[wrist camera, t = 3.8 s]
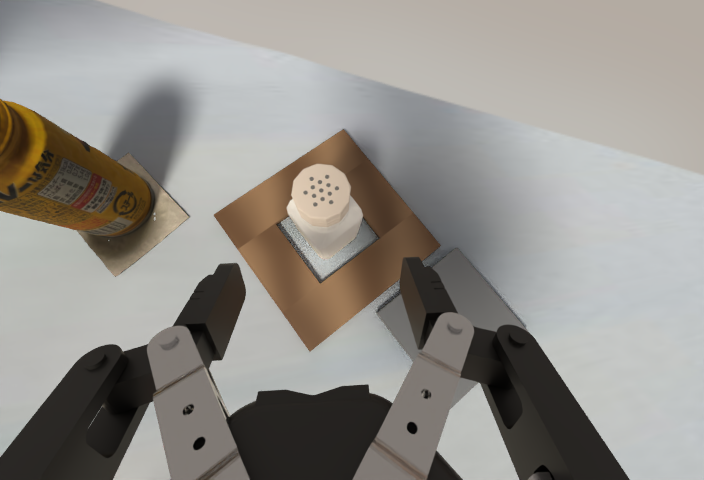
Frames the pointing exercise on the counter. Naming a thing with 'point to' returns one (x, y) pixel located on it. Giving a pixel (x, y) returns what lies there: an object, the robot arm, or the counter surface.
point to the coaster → (469, 301)
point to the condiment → (81, 189)
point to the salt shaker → (324, 209)
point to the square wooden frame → (290, 270)
